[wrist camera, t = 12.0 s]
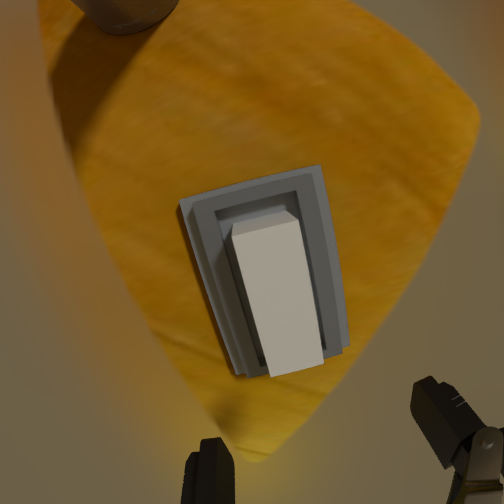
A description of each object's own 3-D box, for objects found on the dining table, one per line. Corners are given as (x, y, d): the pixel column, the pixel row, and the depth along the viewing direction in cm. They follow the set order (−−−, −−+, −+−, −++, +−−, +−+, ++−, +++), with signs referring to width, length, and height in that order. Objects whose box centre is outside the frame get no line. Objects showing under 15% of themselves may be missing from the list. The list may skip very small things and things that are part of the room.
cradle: (236, 369, 29) (236, 384, 26) (181, 199, 24) (174, 202, 22) (346, 340, 29) (354, 353, 26) (317, 164, 24) (325, 164, 21)
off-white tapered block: (265, 344, 27) (270, 377, 22) (232, 223, 24) (231, 236, 19) (311, 333, 27) (324, 363, 22) (286, 210, 24) (298, 219, 19)
